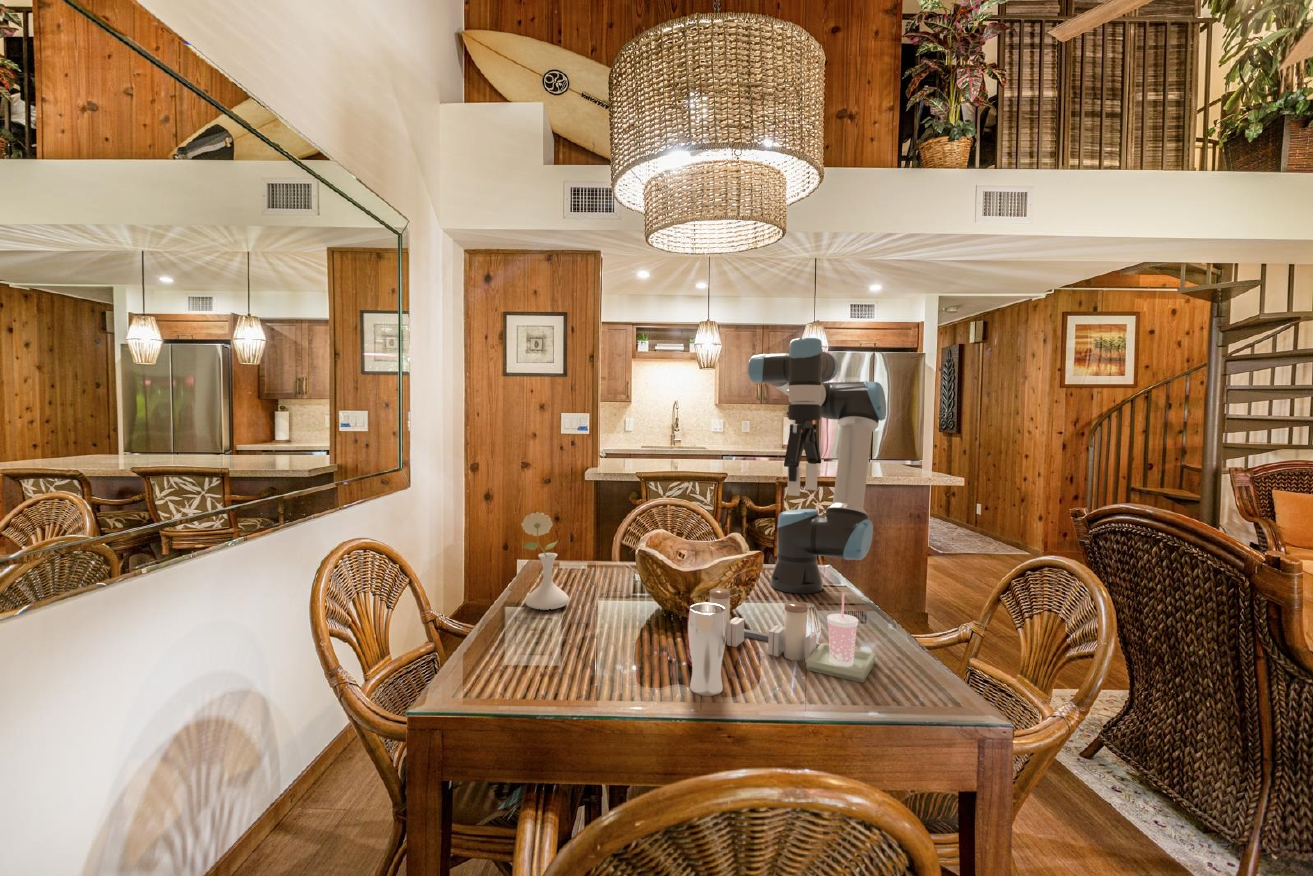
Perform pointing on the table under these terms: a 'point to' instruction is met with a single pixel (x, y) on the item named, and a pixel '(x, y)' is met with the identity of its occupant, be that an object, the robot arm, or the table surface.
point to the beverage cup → (842, 637)
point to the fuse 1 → (721, 601)
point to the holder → (766, 637)
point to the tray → (856, 672)
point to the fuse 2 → (795, 630)
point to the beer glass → (707, 647)
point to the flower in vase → (547, 591)
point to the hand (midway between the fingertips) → (802, 492)
